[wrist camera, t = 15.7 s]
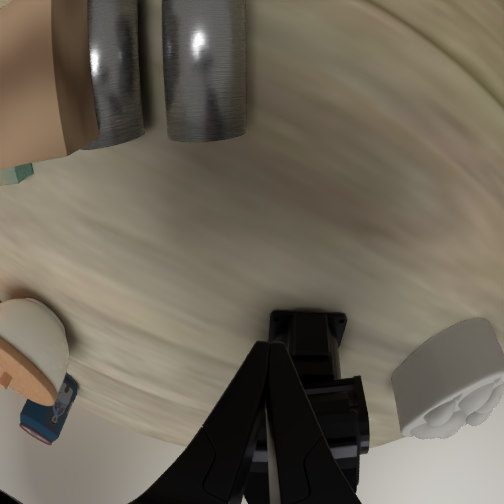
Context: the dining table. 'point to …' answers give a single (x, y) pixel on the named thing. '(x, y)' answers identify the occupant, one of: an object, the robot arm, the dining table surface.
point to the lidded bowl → (32, 350)
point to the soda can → (49, 414)
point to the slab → (44, 81)
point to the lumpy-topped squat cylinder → (450, 381)
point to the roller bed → (166, 72)
